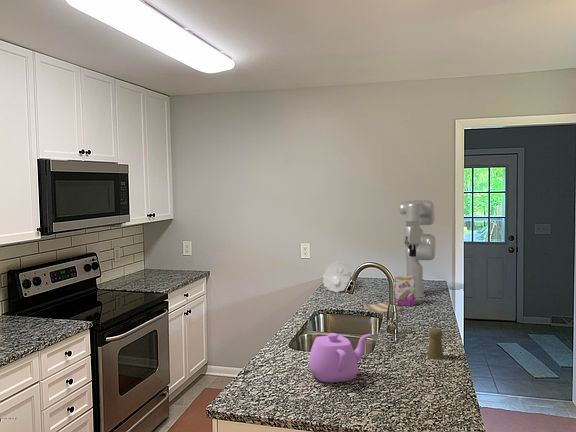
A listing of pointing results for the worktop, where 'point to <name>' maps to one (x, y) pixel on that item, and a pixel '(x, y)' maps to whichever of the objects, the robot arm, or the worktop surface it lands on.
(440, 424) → the worktop surface
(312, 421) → the worktop surface
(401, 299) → the candy bar box
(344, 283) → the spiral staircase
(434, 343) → the brown pepper mill
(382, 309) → the maple board
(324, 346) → the teapot
